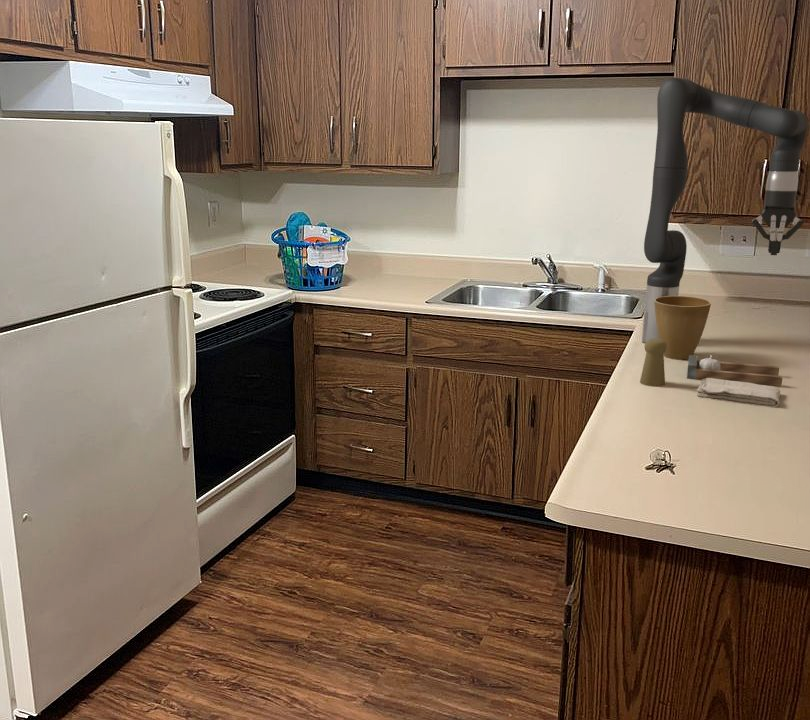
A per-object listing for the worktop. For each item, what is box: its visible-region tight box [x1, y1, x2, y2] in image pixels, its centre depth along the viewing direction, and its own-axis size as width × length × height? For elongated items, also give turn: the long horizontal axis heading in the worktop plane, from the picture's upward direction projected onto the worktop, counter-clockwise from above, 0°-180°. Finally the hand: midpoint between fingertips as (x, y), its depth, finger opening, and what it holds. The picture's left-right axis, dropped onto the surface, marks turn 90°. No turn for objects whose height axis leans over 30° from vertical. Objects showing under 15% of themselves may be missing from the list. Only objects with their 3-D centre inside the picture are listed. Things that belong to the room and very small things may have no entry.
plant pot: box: [654, 295, 712, 361], centre depth 227 cm, size 15×15×16 cm
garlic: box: [699, 354, 721, 370], centre depth 210 cm, size 6×5×5 cm
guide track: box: [686, 354, 783, 388], centre depth 209 cm, size 22×11×4 cm, turn 70°
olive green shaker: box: [639, 339, 667, 387], centre depth 202 cm, size 6×6×11 cm
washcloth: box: [696, 378, 781, 408], centre depth 193 cm, size 12×18×3 cm, turn 65°
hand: (773, 254), depth 219 cm, fingers closed
